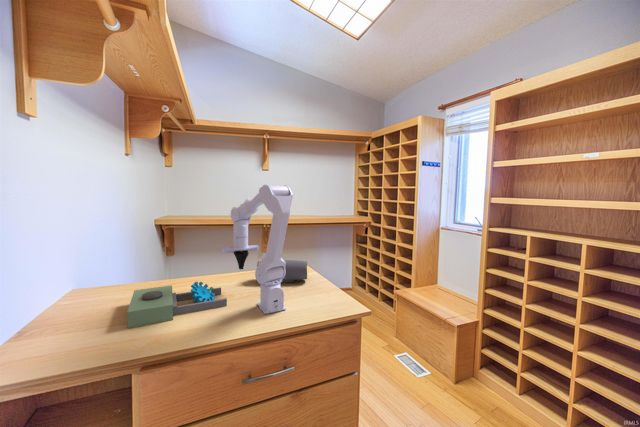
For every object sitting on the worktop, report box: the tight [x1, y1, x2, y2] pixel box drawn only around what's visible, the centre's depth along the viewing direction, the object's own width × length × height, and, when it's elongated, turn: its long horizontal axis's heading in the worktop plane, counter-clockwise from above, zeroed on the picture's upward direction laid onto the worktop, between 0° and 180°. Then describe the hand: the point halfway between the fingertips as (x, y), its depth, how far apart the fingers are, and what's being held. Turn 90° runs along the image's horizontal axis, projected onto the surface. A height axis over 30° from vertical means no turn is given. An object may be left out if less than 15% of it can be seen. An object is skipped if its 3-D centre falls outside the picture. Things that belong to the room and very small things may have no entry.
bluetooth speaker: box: [256, 259, 308, 283], centre depth 126 cm, size 23×9×10 cm, turn 94°
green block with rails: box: [126, 284, 228, 329], centre depth 97 cm, size 20×29×6 cm
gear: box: [190, 281, 216, 303], centre depth 101 cm, size 11×6×10 cm
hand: (241, 268), depth 113 cm, fingers closed
